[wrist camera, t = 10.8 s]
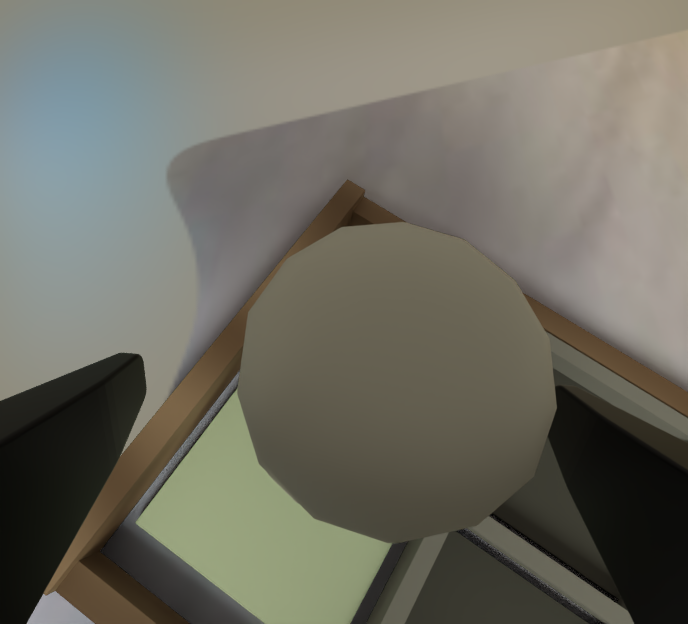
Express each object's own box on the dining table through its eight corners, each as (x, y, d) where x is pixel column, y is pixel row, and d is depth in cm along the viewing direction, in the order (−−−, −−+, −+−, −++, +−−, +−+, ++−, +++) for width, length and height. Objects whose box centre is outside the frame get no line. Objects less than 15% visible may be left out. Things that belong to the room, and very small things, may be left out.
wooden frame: (871, 1223, 11) (983, 1373, 9) (58, 561, 15) (22, 576, 13) (922, 558, 18) (996, 569, 16) (343, 204, 21) (347, 179, 19)
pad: (324, 664, 14) (325, 670, 14) (139, 521, 15) (135, 522, 15) (492, 349, 19) (496, 347, 19) (341, 254, 20) (341, 250, 20)
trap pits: (545, 902, 13) (575, 956, 12) (316, 719, 14) (317, 748, 13) (687, 438, 18) (718, 437, 17) (515, 332, 20) (532, 323, 18)
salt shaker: (233, 432, 16) (31, 351, 4) (330, 333, 18) (378, 79, 6) (340, 540, 15) (468, 834, 3) (431, 425, 17) (730, 341, 5)
